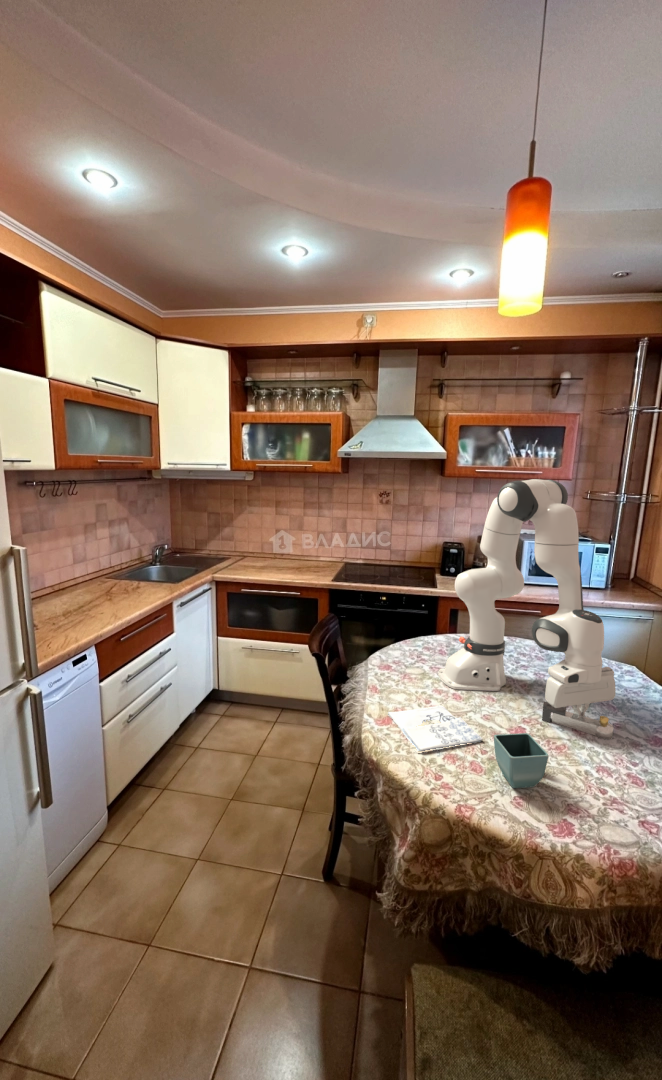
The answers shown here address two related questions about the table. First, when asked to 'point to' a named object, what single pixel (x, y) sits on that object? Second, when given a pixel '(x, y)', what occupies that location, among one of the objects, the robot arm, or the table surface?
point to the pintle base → (563, 713)
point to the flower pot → (520, 759)
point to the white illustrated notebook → (434, 728)
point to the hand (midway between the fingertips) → (579, 717)
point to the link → (584, 724)
